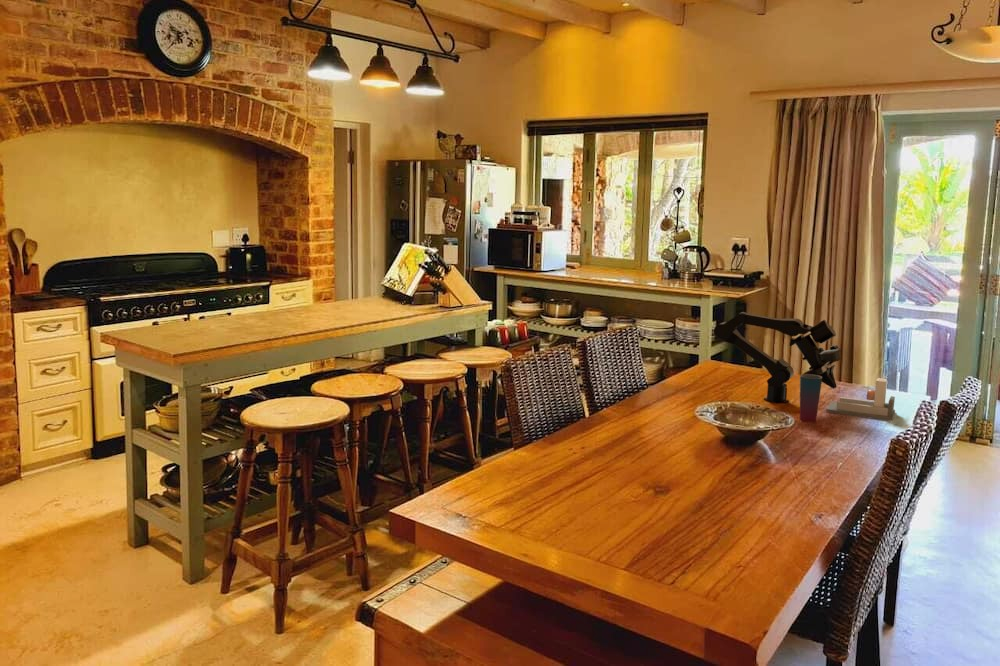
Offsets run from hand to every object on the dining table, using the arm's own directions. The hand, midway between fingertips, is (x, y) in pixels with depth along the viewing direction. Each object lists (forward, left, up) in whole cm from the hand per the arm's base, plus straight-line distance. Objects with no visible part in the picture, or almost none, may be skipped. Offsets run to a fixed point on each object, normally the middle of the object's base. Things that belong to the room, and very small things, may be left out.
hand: (835, 388), depth 268 cm
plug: (+7, -11, -6) cm, 14 cm away
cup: (-20, -7, -8) cm, 22 cm away
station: (+5, -7, -7) cm, 11 cm away
